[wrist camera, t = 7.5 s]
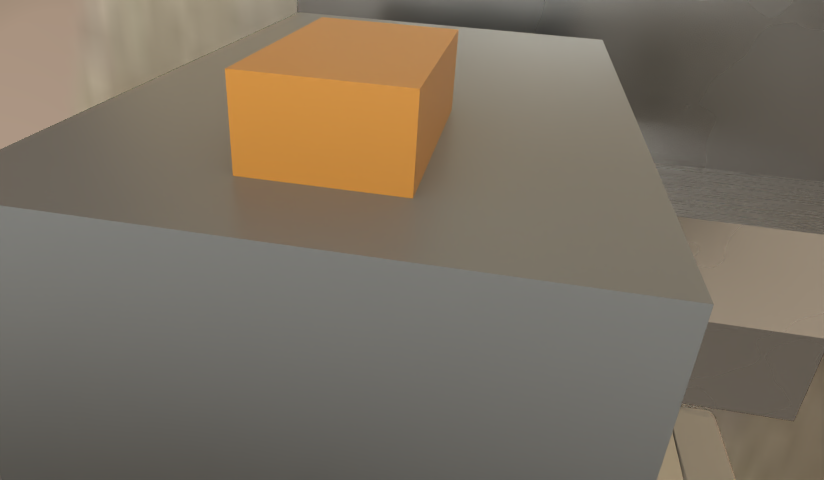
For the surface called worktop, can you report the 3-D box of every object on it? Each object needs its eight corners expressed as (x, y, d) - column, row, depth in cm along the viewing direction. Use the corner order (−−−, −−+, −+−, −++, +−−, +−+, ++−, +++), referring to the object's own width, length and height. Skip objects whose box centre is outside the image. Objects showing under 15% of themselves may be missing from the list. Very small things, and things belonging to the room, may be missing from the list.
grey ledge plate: (961, -39, 12) (1107, -12, 9) (781, 393, 16) (833, 507, 13) (311, -83, 13) (240, -74, 10) (319, 321, 18) (272, 409, 15)
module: (611, -13, 9) (755, 172, 3) (524, 450, 13) (508, 934, 7) (297, -38, 10) (-134, 72, 3) (307, 413, 14) (116, 829, 8)
